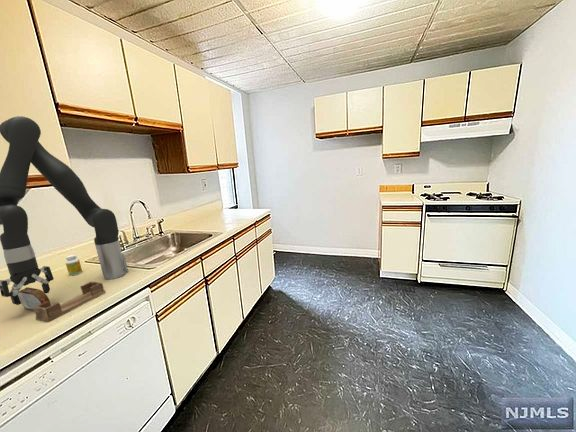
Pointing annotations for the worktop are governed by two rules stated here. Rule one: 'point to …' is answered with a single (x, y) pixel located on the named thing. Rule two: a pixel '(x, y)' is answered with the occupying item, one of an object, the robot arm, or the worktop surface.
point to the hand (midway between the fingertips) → (32, 298)
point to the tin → (32, 297)
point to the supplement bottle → (73, 265)
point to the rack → (68, 302)
